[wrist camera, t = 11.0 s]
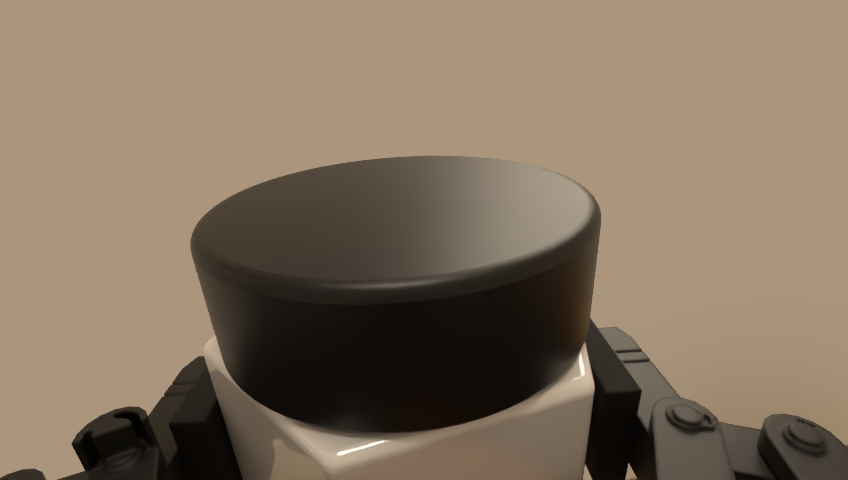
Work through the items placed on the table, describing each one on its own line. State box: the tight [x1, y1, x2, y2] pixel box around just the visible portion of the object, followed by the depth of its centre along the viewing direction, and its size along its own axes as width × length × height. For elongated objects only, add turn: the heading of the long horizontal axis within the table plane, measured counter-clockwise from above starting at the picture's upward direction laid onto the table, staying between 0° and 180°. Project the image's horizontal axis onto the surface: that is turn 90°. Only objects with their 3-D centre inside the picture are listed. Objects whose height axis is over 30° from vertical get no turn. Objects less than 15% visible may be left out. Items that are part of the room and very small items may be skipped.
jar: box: [191, 156, 601, 480], centre depth 11 cm, size 9×8×12 cm
